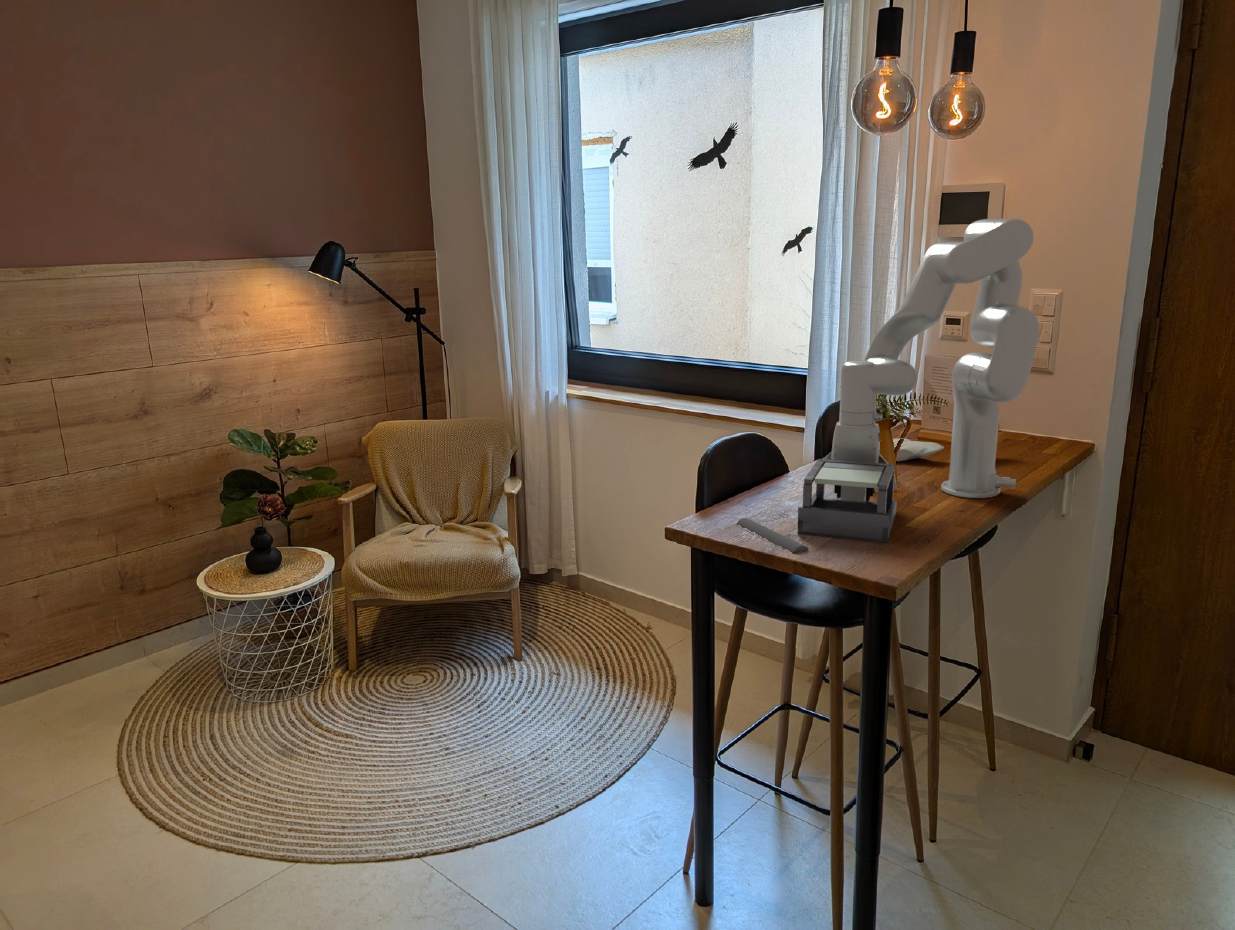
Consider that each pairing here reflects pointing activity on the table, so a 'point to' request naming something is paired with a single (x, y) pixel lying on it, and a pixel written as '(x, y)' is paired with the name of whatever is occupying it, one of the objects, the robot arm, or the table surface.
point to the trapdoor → (850, 475)
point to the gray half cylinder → (772, 535)
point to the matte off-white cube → (853, 493)
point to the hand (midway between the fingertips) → (853, 497)
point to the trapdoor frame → (848, 509)
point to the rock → (915, 449)
